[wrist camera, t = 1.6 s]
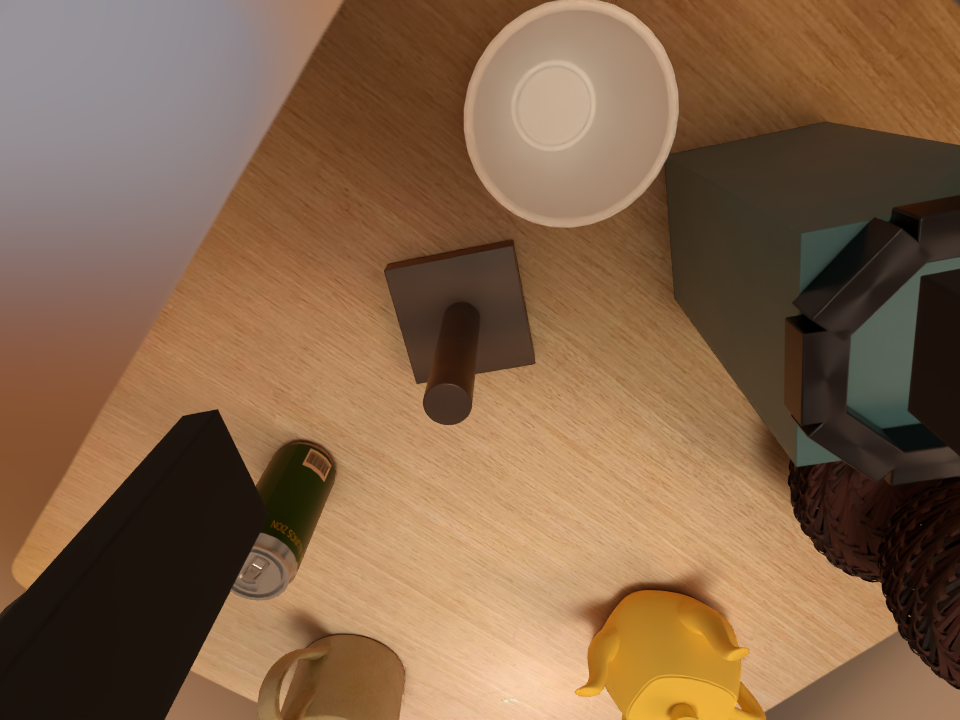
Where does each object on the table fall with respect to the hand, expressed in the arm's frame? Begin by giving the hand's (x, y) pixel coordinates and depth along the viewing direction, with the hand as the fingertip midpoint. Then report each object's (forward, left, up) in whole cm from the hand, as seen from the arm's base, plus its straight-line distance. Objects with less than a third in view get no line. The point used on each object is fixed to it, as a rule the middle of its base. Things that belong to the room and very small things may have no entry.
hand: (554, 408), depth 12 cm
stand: (+6, +14, -31) cm, 35 cm away
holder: (+9, -6, -31) cm, 33 cm away
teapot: (+43, +5, -31) cm, 54 cm away
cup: (-3, +3, -31) cm, 31 cm away
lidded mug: (+44, -27, -31) cm, 60 cm away
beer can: (+20, -22, -31) cm, 43 cm away
